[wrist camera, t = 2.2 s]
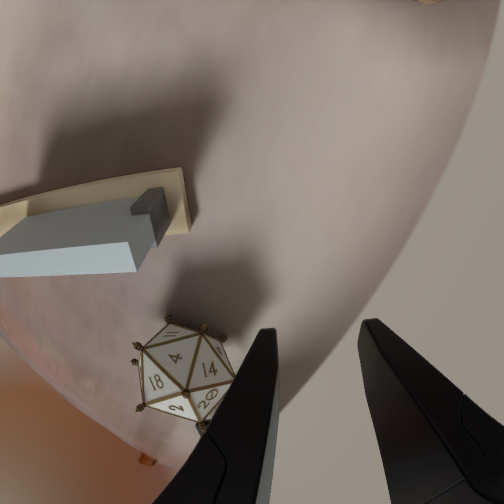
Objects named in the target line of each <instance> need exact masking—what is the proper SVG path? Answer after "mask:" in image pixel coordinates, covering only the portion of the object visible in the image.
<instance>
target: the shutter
mask: <svg viewBox="0 0 504 504" xmlns="http://www.w3.org/2000/svg"><path fill="white" fill-rule="evenodd" d="M170 224H171V221H170V217H169V212H168V207H167V202H166V197H165V192H164V187H157V188H150V189H147V190H146V191H145V192H144V193H143V194H142V195H141V196H140V197H136V198H129V199H123V200H116V201H109V202H103V203H97V204H91V205H85V206H79V207H74V208H68V209H63V210H57V211H52V212H47V213H42V214H37V215H32V216H28V217H25V218H24V219H22V220H21V221H20V222H18V223H17V224H16V225H15V226H13V227H12V228H11V229H10V230H8V231H7V232H6V233H5V234H3V235H2V236H1V237H0V277H27V276H53V275H77V274H100V273H121V272H137V271H138V269H139V267H140V265H141V264H142V262H143V260H144V259H145V257H146V255H147V253H148V252H149V250H150V248H155V247H158V245H159V244H160V242H161V240H162V238H163V236H164V235H165V233H166V231H167V229H168V228H169V226H170Z"/></svg>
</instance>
